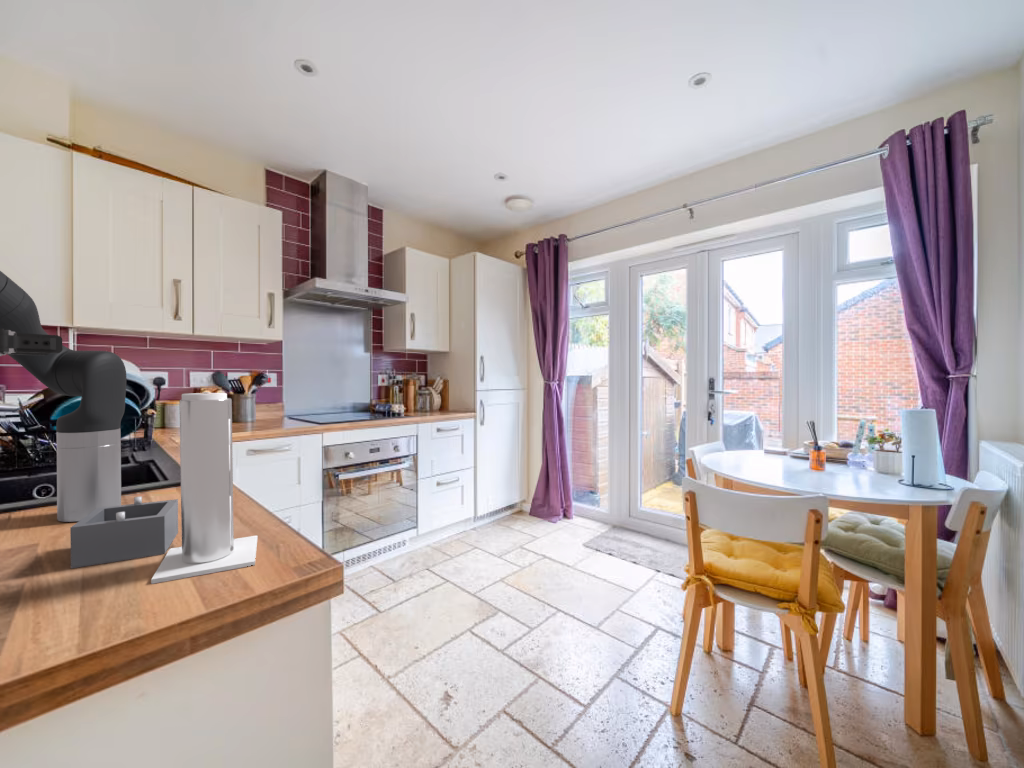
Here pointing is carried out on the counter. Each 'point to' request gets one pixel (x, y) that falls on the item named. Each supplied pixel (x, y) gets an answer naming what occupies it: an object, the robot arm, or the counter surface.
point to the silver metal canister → (206, 477)
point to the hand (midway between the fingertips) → (55, 346)
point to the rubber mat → (178, 569)
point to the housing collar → (124, 532)
